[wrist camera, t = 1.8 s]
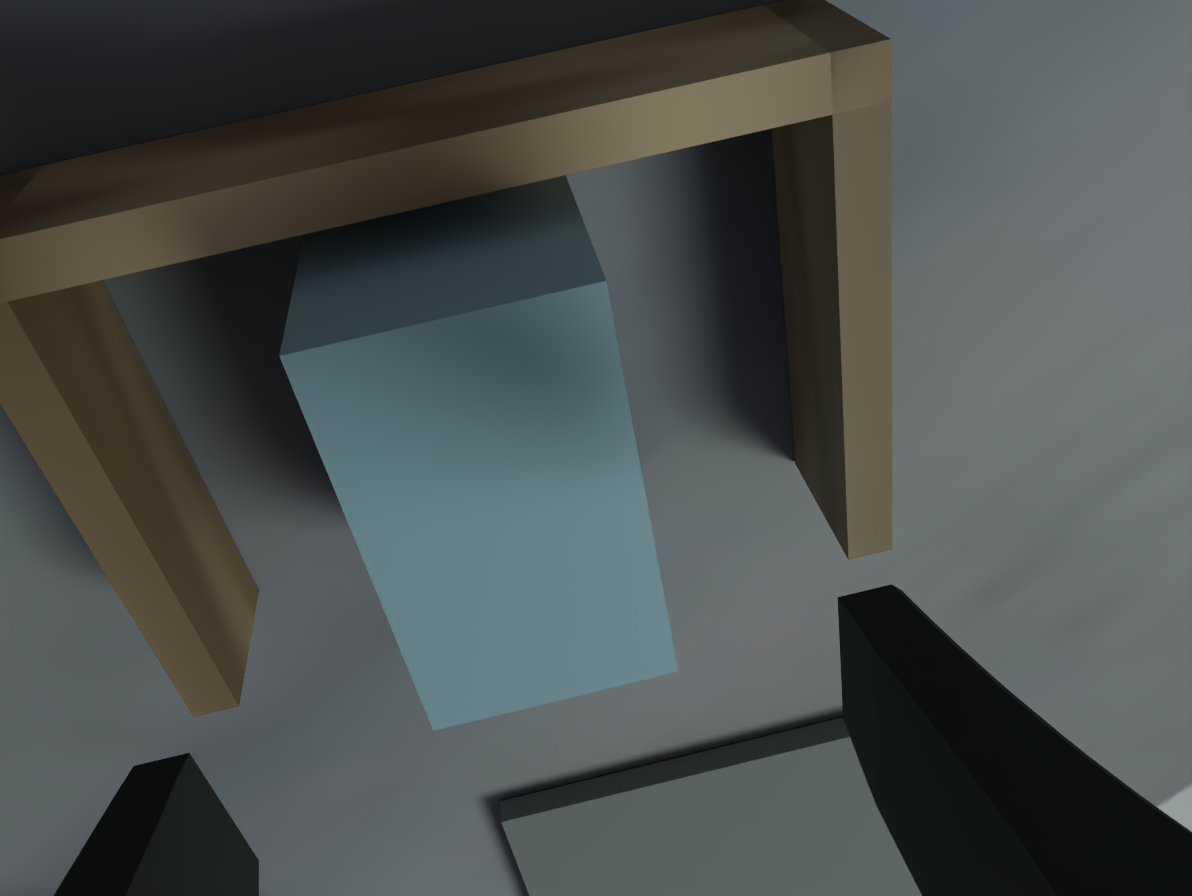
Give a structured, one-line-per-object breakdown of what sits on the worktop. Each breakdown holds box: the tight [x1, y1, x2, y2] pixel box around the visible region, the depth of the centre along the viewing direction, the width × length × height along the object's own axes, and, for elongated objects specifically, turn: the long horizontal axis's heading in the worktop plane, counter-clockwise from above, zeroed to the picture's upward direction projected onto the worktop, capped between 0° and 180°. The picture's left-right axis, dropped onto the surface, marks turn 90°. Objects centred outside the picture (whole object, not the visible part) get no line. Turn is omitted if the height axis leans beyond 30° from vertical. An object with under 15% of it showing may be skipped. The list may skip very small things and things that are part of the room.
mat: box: [499, 717, 922, 896], centre depth 28 cm, size 11×10×1 cm
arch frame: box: [0, 0, 892, 717], centre depth 17 cm, size 13×9×3 cm
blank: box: [279, 175, 678, 731], centre depth 16 cm, size 4×7×5 cm, turn 10°
